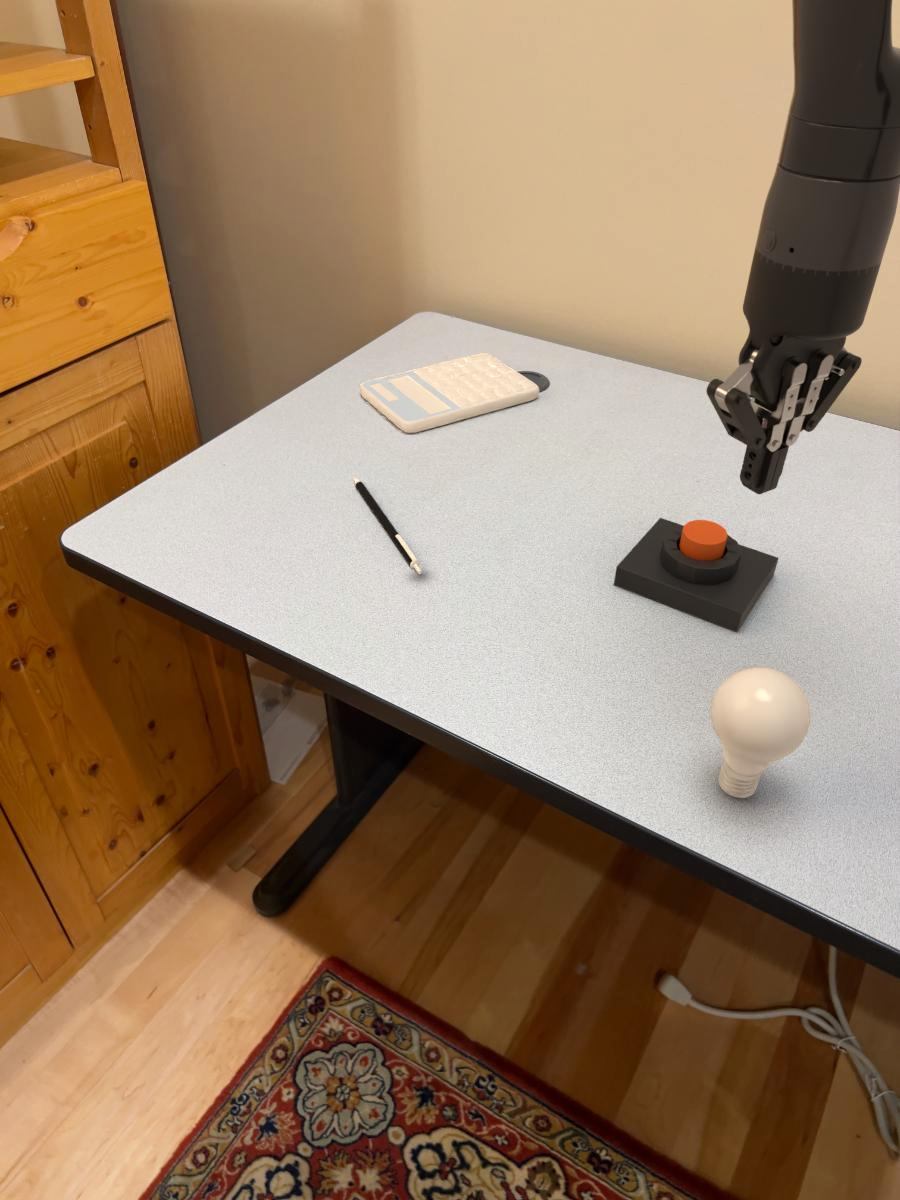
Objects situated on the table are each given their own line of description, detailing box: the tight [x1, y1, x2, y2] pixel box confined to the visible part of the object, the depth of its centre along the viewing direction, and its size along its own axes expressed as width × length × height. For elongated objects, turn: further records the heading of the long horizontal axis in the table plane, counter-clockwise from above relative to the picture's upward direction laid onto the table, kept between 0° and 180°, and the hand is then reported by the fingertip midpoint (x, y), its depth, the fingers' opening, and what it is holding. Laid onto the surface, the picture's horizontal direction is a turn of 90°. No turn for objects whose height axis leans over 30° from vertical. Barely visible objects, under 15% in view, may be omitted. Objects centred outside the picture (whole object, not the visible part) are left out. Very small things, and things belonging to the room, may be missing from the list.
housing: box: [613, 517, 779, 633], centre depth 82 cm, size 12×10×4 cm
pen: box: [353, 476, 423, 575], centre depth 91 cm, size 1×19×1 cm, turn 24°
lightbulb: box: [710, 666, 812, 799], centre depth 61 cm, size 6×6×11 cm
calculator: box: [358, 352, 540, 434], centre depth 113 cm, size 13×20×2 cm, turn 121°
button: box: [679, 519, 729, 561], centre depth 81 cm, size 4×4×2 cm
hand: (757, 486), depth 65 cm, fingers closed
